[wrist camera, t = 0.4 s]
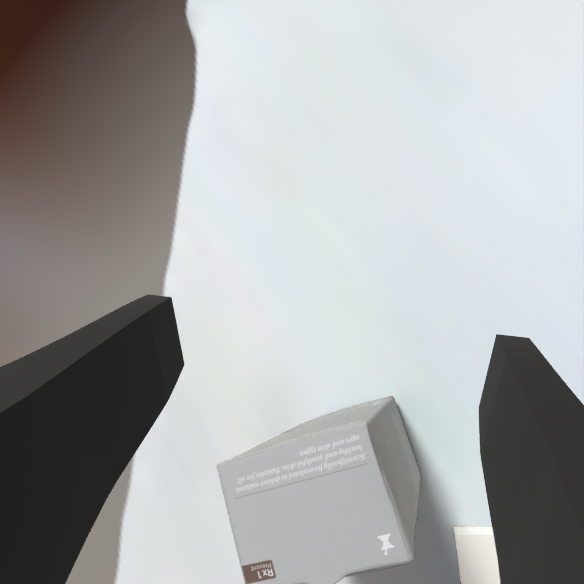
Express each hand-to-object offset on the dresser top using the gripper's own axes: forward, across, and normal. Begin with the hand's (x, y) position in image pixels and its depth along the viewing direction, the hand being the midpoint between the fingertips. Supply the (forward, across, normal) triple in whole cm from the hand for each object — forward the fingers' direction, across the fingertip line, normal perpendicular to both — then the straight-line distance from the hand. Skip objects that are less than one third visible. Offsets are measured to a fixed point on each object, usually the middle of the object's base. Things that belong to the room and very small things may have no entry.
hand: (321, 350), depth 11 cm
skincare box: (+17, 0, +24) cm, 29 cm away
